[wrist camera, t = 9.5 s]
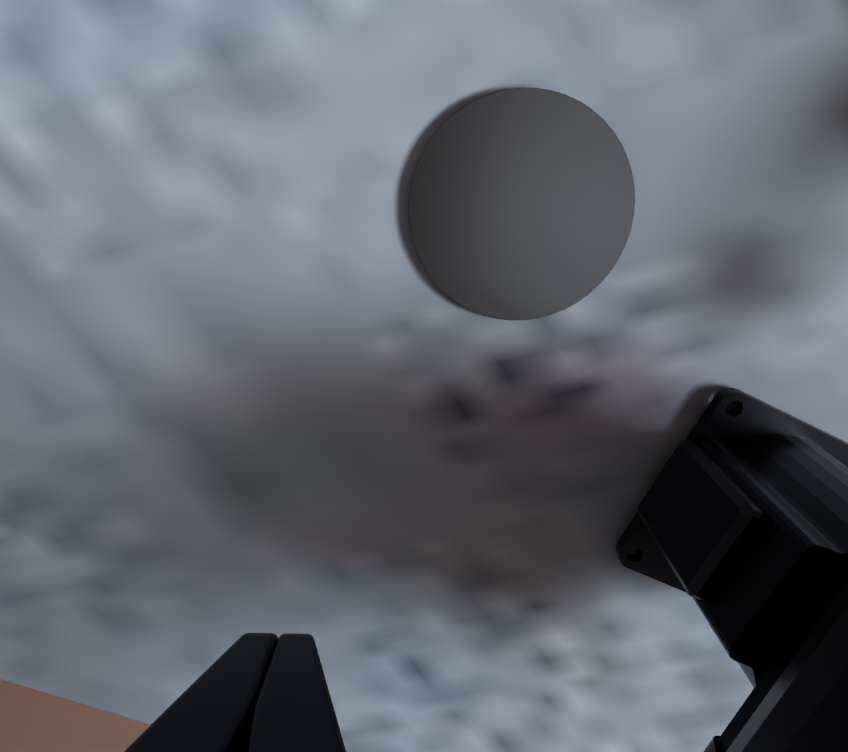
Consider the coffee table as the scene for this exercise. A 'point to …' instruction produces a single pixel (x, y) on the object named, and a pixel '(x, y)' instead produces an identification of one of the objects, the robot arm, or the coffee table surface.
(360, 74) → the coffee table surface
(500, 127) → the pad
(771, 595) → the robot arm
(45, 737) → the terracotta block
